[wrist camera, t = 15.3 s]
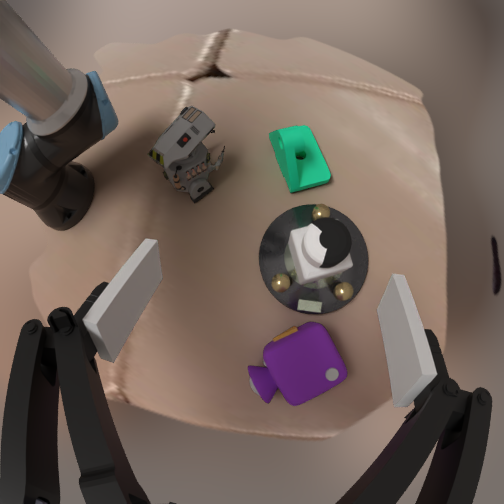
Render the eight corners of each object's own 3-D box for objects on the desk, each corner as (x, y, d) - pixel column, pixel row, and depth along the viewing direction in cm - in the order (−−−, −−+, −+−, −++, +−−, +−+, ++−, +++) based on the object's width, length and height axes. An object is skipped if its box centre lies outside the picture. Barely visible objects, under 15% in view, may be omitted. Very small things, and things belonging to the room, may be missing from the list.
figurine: (240, 171, 52) (229, 123, 37) (188, 209, 51) (159, 171, 36) (212, 140, 53) (195, 90, 39) (163, 175, 53) (131, 133, 38)
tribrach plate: (251, 305, 47) (249, 305, 43) (267, 200, 50) (267, 192, 47) (359, 319, 45) (365, 320, 42) (368, 216, 48) (374, 209, 45)
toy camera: (237, 362, 45) (229, 375, 35) (304, 310, 46) (312, 309, 36) (279, 410, 43) (281, 433, 33) (344, 359, 44) (362, 370, 34)
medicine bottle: (329, 231, 47) (346, 205, 35) (342, 273, 45) (365, 259, 33) (287, 242, 47) (292, 218, 35) (299, 285, 45) (309, 275, 33)
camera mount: (329, 184, 50) (342, 156, 40) (290, 195, 50) (294, 168, 40) (306, 132, 53) (312, 98, 43) (269, 140, 53) (268, 107, 43)
